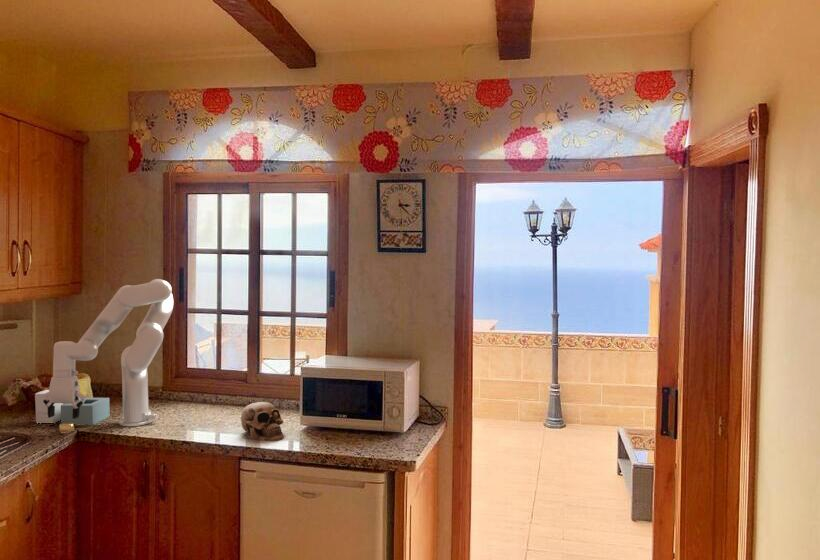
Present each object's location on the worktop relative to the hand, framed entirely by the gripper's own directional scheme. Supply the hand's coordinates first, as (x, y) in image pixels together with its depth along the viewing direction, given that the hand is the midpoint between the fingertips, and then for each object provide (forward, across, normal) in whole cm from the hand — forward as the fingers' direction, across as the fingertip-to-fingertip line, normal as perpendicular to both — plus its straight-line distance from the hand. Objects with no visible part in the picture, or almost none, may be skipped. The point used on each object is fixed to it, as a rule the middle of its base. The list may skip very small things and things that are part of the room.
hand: (63, 417), depth 240 cm
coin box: (+5, 0, -16) cm, 17 cm away
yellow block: (+6, -1, -1) cm, 6 cm away
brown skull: (+3, -79, +1) cm, 79 cm away
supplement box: (+6, +14, -14) cm, 20 cm away
